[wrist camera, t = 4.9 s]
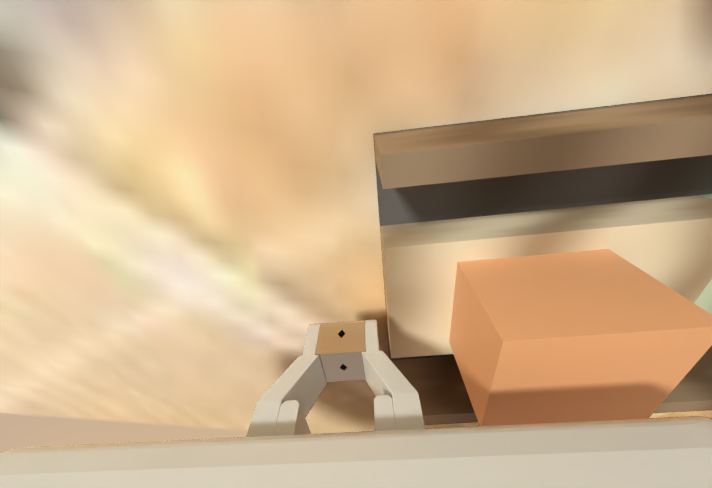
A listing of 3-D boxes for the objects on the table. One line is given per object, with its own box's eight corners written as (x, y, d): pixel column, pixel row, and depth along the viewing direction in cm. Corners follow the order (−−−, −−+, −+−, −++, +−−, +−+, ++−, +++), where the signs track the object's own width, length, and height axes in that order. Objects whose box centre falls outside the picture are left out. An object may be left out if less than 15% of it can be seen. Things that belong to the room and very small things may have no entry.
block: (608, 248, 11) (728, 325, 7) (570, 333, 13) (646, 420, 10) (457, 261, 11) (502, 341, 8) (449, 341, 14) (480, 428, 10)
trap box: (982, 61, 9) (1504, 39, 5) (729, 340, 17) (855, 425, 13) (373, 133, 11) (384, 163, 6) (389, 362, 18) (399, 446, 14)
